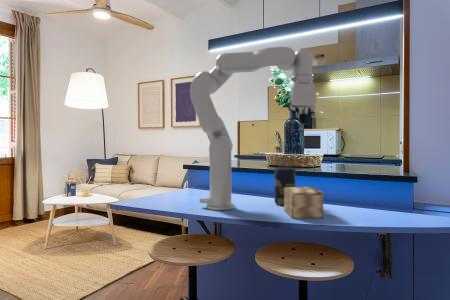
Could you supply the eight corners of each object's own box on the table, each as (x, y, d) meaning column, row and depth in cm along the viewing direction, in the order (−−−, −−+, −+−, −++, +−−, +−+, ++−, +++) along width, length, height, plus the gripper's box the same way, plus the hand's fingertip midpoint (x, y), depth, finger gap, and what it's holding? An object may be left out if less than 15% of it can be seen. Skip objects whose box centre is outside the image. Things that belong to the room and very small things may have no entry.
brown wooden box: (291, 218, 124) (292, 195, 124) (284, 210, 138) (284, 189, 138) (322, 218, 124) (323, 194, 124) (312, 210, 138) (312, 189, 138)
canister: (295, 206, 145) (295, 166, 145) (273, 206, 147) (274, 166, 147) (294, 202, 155) (295, 165, 154) (274, 202, 157) (275, 164, 156)
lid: (292, 194, 124) (292, 192, 124) (284, 189, 138) (284, 187, 138) (323, 194, 124) (323, 192, 124) (312, 188, 138) (312, 186, 138)
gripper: (287, 78, 134) (287, 123, 135) (323, 79, 135) (322, 123, 135) (283, 81, 142) (283, 123, 142) (317, 82, 142) (317, 124, 143)
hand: (302, 123), depth 139 cm, fingers closed
